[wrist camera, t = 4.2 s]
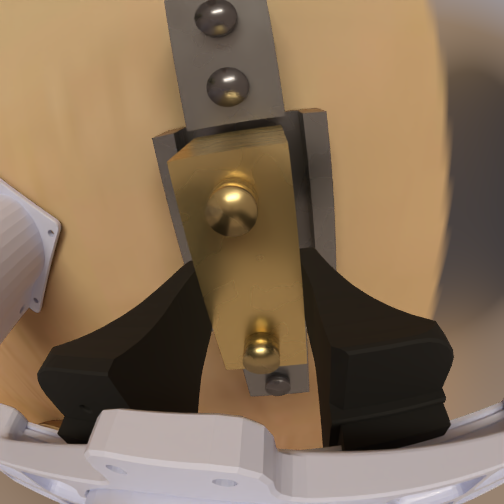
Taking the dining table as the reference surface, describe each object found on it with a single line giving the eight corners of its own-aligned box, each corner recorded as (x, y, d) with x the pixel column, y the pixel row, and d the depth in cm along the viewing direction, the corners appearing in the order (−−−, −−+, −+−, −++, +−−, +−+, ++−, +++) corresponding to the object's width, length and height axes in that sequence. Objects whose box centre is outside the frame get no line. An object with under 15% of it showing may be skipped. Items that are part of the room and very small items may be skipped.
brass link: (300, 304, 16) (309, 381, 12) (233, 311, 17) (223, 387, 12) (281, 124, 12) (290, 150, 8) (195, 138, 12) (156, 171, 8)
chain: (329, 357, 22) (335, 395, 19) (229, 365, 23) (224, 404, 20) (299, -3, 11) (308, -27, 8) (148, 24, 12) (119, 10, 9)
